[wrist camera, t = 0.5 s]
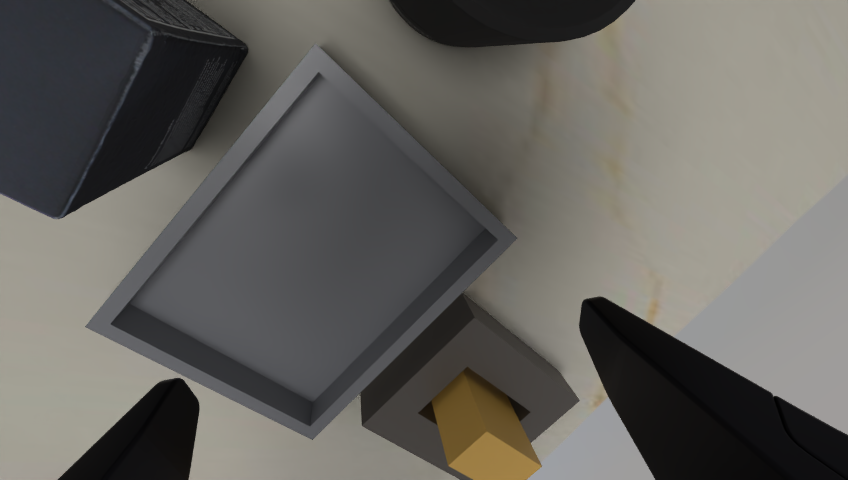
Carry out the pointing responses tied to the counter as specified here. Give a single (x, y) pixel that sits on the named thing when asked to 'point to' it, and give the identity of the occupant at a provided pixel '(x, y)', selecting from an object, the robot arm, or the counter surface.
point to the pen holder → (508, 20)
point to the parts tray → (305, 255)
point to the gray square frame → (442, 362)
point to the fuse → (482, 431)
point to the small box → (103, 93)
